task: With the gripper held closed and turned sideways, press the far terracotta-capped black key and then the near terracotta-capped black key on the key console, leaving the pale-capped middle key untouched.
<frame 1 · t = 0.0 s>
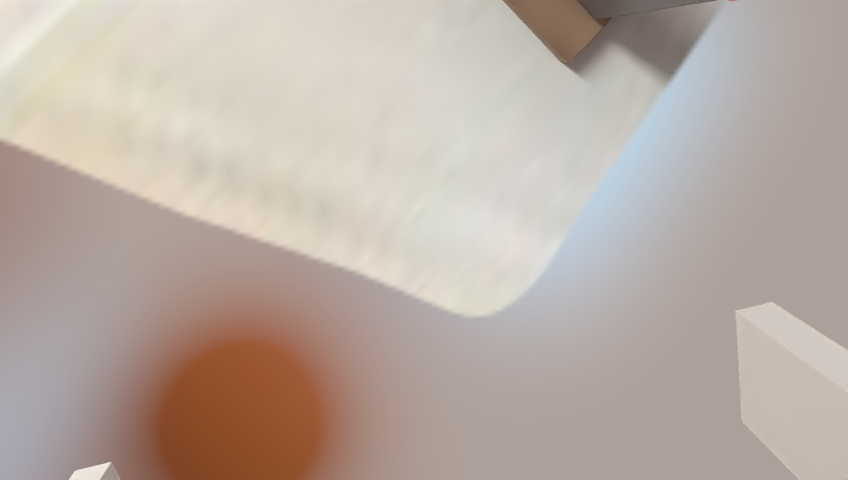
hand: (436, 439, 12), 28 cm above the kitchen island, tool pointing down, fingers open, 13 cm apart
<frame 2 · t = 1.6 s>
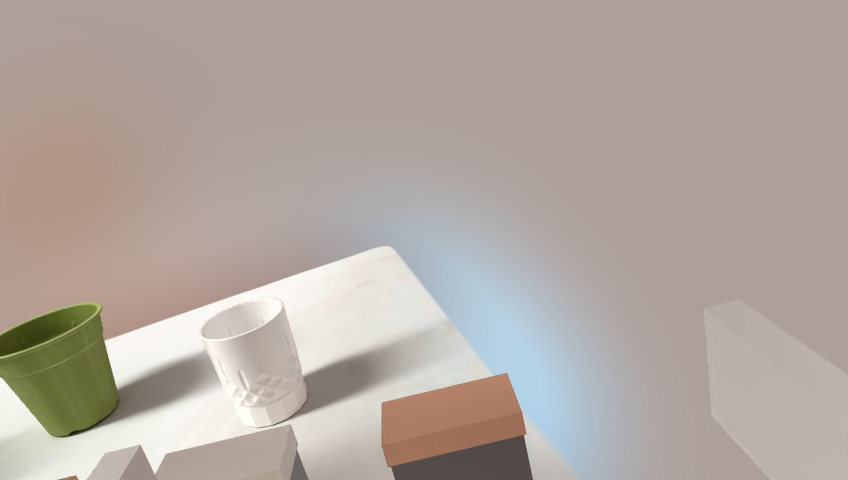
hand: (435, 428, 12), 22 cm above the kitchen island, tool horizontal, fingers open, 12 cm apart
white cup: (275, 407, 56), on the kitchen island
plant pot: (86, 417, 63), on the kitchen island
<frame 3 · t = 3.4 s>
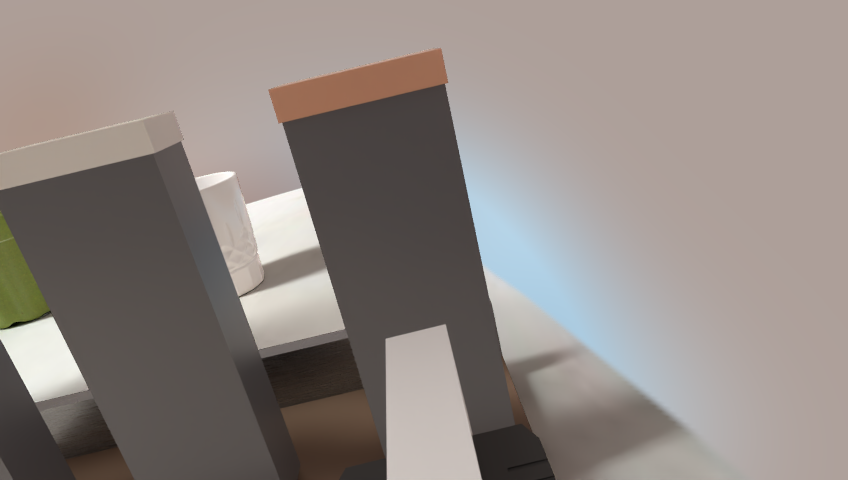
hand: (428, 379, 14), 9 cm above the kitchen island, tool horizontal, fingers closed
white cup: (229, 290, 52), on the kitchen island
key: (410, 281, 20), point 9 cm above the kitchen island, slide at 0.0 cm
plant pot: (32, 314, 59), on the kitchen island
key middle: (166, 339, 20), point 9 cm above the kitchen island, slide at 0.0 cm
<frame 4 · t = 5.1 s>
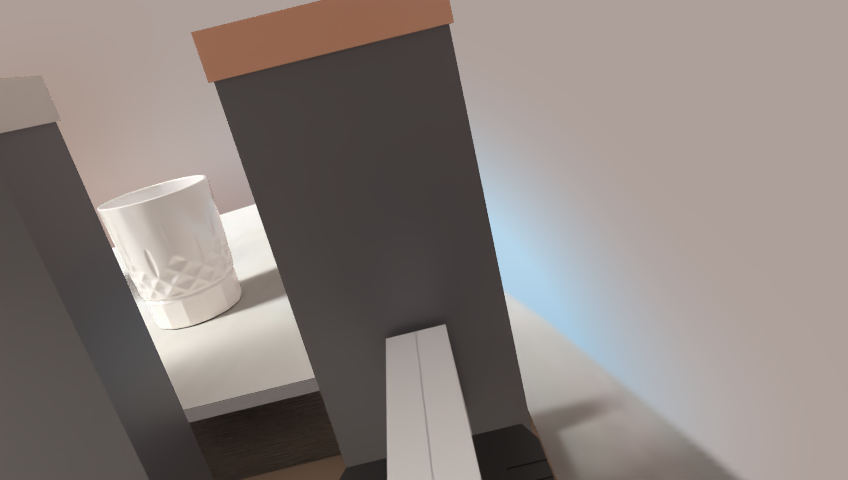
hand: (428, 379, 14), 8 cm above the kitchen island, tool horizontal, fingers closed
white cup: (201, 311, 46), on the kitchen island
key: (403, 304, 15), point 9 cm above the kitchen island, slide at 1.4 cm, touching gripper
key middle: (44, 417, 14), point 9 cm above the kitchen island, slide at 0.0 cm
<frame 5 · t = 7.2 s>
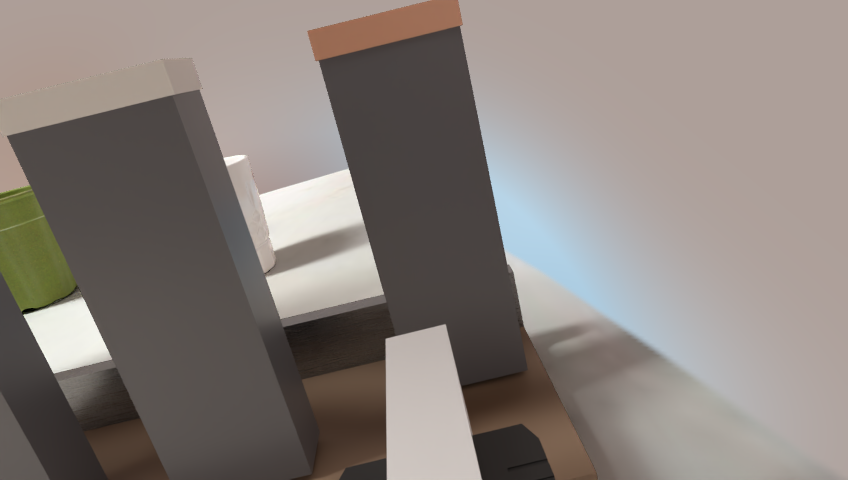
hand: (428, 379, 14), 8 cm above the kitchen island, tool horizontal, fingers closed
white cup: (241, 275, 52), on the kitchen island
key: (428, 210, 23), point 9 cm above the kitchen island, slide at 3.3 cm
plant pot: (43, 301, 59), on the kitchen island
key middle: (184, 296, 20), point 9 cm above the kitchen island, slide at 0.0 cm
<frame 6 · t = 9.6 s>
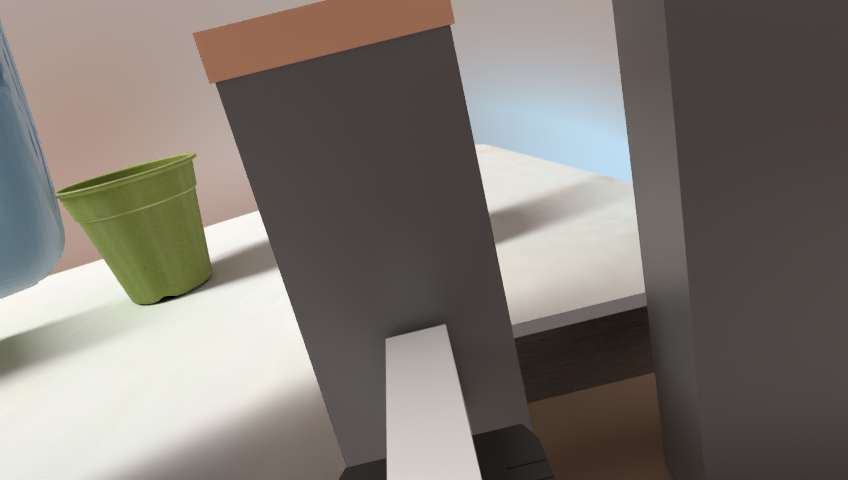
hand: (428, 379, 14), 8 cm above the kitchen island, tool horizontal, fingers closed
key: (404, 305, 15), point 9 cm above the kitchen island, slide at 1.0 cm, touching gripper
plant pot: (174, 289, 53), on the kitchen island
key middle: (760, 235, 14), point 9 cm above the kitchen island, slide at 0.0 cm
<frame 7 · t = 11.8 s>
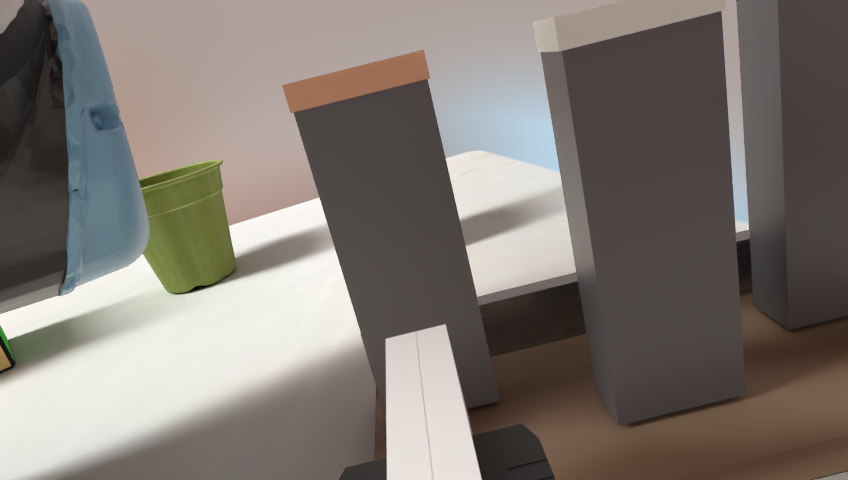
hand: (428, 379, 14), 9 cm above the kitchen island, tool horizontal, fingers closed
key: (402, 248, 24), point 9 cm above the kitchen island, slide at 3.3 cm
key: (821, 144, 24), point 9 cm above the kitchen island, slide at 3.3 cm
plant pot: (202, 280, 59), on the kitchen island
key console: (671, 428, 23), on the kitchen island
key middle: (646, 218, 21), point 9 cm above the kitchen island, slide at 0.0 cm
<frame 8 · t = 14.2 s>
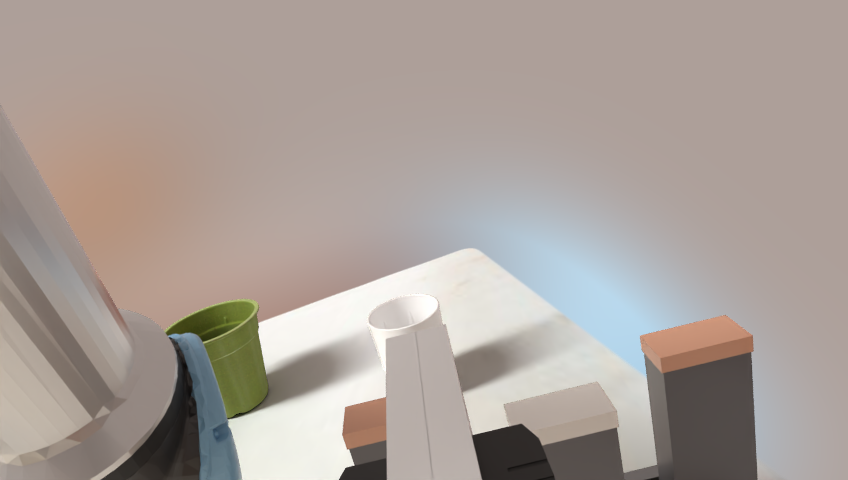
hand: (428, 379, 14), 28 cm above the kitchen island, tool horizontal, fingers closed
white cup: (424, 390, 63), on the kitchen island
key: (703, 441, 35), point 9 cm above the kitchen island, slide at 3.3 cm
plant pot: (240, 402, 70), on the kitchen island
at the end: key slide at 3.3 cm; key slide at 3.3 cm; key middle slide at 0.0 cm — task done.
